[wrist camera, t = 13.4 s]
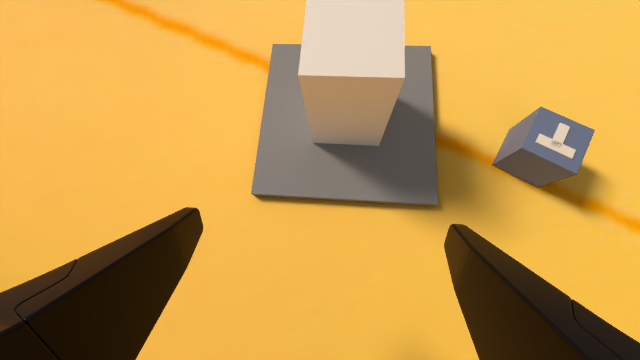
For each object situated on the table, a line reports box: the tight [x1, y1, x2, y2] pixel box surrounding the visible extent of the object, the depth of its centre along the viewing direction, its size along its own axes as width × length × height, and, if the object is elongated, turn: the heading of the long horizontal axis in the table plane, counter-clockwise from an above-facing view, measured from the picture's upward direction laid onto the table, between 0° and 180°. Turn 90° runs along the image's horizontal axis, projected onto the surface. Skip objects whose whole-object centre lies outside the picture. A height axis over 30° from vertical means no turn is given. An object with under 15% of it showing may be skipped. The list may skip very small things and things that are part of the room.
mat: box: [251, 44, 438, 206], centre depth 25 cm, size 16×16×1 cm
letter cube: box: [492, 107, 595, 187], centre depth 22 cm, size 4×4×4 cm
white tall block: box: [298, 0, 405, 146], centre depth 20 cm, size 6×6×10 cm
